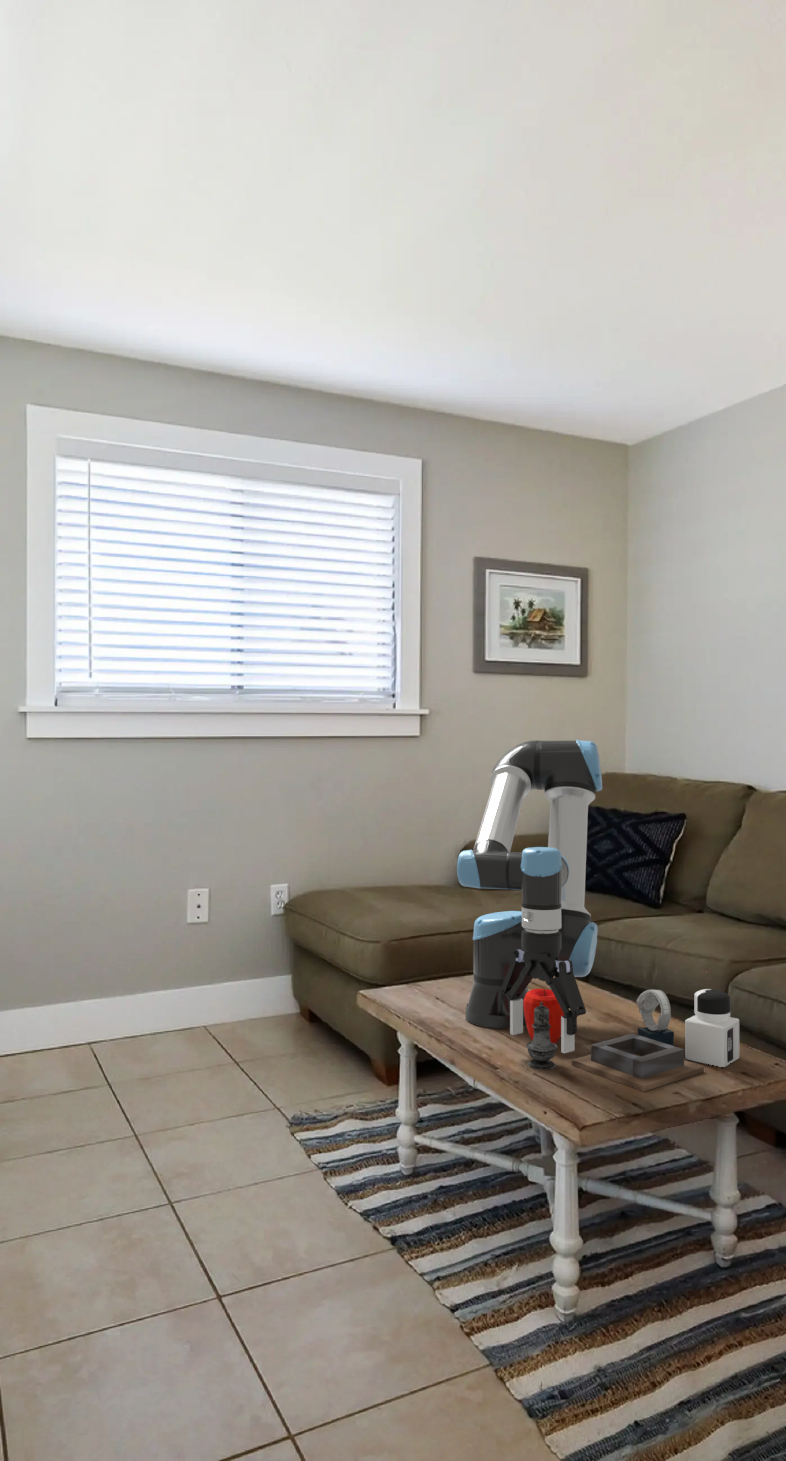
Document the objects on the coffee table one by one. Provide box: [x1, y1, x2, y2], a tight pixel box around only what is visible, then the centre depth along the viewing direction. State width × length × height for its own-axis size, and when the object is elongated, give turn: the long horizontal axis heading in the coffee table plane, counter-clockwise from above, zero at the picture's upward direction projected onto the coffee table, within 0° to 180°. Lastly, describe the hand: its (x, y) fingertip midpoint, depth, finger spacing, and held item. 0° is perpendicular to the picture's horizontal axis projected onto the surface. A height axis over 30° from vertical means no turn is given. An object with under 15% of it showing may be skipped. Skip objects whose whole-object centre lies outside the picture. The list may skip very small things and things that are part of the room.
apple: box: [523, 988, 564, 1044], centre depth 194 cm, size 9×9×11 cm
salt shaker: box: [525, 1001, 558, 1071], centre depth 180 cm, size 6×6×12 cm
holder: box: [571, 1033, 705, 1092], centre depth 178 cm, size 17×17×4 cm
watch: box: [635, 988, 675, 1046], centre depth 192 cm, size 6×8×11 cm
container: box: [684, 988, 740, 1068], centre depth 184 cm, size 8×8×13 cm
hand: (541, 1042), depth 180 cm, fingers open, 13 cm apart
